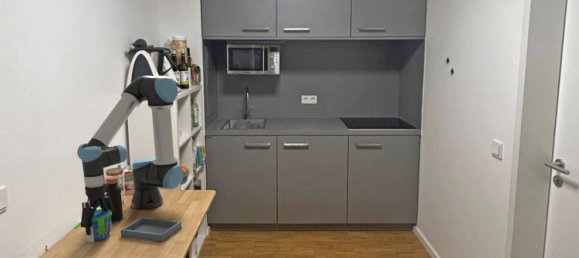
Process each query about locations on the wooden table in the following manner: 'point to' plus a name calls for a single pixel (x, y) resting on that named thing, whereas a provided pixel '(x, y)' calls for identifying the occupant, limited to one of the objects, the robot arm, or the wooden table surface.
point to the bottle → (115, 197)
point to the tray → (151, 229)
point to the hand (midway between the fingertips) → (100, 236)
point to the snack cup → (101, 224)
